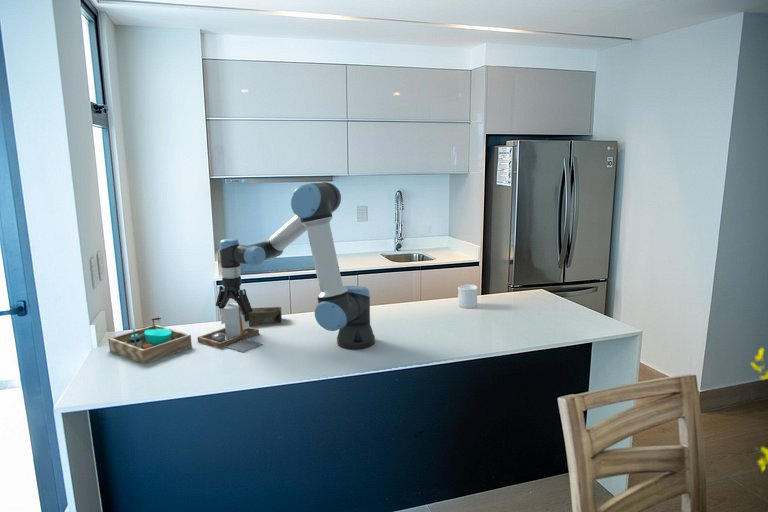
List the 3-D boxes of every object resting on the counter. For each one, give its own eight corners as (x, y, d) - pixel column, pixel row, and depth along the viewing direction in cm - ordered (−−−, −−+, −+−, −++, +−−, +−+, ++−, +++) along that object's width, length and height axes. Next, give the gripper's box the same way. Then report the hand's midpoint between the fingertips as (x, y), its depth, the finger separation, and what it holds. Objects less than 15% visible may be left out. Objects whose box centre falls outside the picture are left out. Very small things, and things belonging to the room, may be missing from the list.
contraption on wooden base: (125, 347, 208) (121, 310, 205) (173, 338, 216) (170, 303, 213) (126, 359, 196) (122, 321, 193) (177, 350, 204) (174, 313, 201)
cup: (457, 308, 253) (457, 289, 251) (458, 302, 263) (458, 284, 261) (477, 309, 252) (477, 289, 250) (477, 303, 261) (477, 284, 259)
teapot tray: (191, 347, 207) (190, 335, 206) (144, 363, 191) (142, 350, 190) (156, 335, 221) (155, 324, 220) (109, 350, 205) (108, 338, 204)
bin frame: (259, 334, 221) (258, 329, 221) (220, 348, 205) (219, 343, 205) (237, 328, 229) (236, 323, 229) (197, 341, 213) (197, 337, 212)
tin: (228, 341, 214) (227, 334, 213) (217, 344, 210) (217, 337, 209) (220, 338, 216) (219, 331, 216) (210, 342, 212) (209, 335, 212)
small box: (241, 338, 216) (239, 308, 213) (225, 339, 216) (223, 308, 213) (245, 332, 224) (243, 302, 221) (230, 332, 224) (228, 303, 221)
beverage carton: (282, 324, 234) (281, 309, 233) (237, 327, 231) (236, 313, 230) (282, 318, 242) (281, 305, 241) (239, 321, 239) (238, 308, 237)
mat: (262, 344, 208) (262, 343, 208) (242, 352, 200) (242, 351, 200) (245, 340, 214) (245, 339, 214) (225, 347, 206) (225, 346, 206)
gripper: (259, 278, 211) (262, 328, 215) (219, 271, 225) (223, 318, 229) (244, 282, 205) (248, 333, 209) (204, 274, 219) (208, 323, 223)
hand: (235, 325), depth 219 cm, fingers open, 13 cm apart
